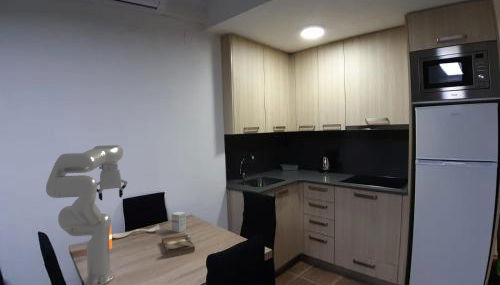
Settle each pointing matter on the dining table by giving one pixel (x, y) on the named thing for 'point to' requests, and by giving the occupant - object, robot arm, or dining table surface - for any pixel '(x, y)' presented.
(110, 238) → the orange juice
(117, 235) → the cream wavy strip
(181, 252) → the wooden tray
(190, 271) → the dining table surface
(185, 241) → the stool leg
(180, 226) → the supplement box
